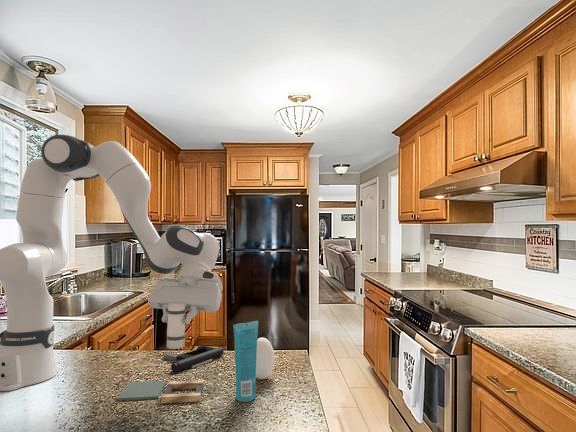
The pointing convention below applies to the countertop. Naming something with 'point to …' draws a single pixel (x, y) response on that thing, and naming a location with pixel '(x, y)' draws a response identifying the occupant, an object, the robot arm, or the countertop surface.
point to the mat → (142, 390)
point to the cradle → (185, 397)
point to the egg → (264, 358)
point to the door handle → (193, 357)
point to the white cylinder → (175, 325)
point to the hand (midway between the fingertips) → (175, 322)
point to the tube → (245, 359)
